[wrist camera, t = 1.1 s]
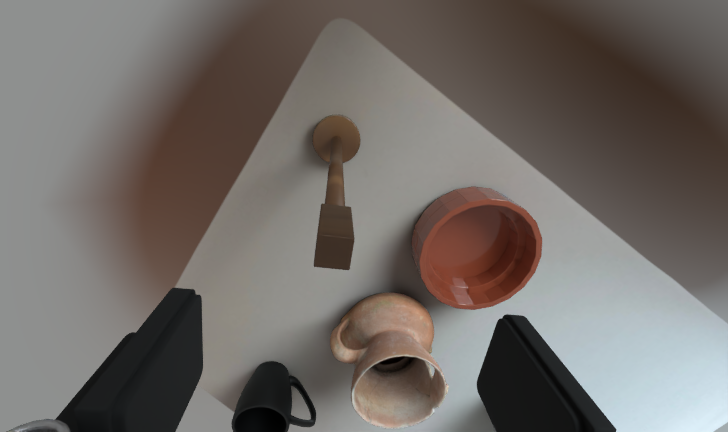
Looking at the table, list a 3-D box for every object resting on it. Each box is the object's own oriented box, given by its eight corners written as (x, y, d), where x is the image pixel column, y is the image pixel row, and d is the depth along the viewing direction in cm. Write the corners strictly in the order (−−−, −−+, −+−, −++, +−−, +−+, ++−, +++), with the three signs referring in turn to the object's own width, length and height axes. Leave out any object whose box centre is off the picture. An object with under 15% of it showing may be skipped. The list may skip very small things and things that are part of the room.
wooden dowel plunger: (315, 111, 43) (267, 177, 13) (362, 118, 44) (414, 196, 14) (311, 157, 45) (260, 304, 16) (355, 164, 46) (388, 315, 16)
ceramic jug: (451, 308, 56) (486, 378, 43) (404, 369, 60) (423, 450, 47) (355, 263, 52) (362, 325, 38) (312, 332, 56) (304, 410, 42)
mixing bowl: (424, 178, 47) (435, 191, 42) (534, 193, 49) (559, 207, 44) (401, 280, 53) (408, 304, 48) (500, 290, 55) (519, 314, 50)
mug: (313, 396, 61) (309, 450, 52) (244, 388, 59) (228, 442, 50) (322, 361, 58) (319, 411, 49) (250, 351, 56) (234, 402, 47)
